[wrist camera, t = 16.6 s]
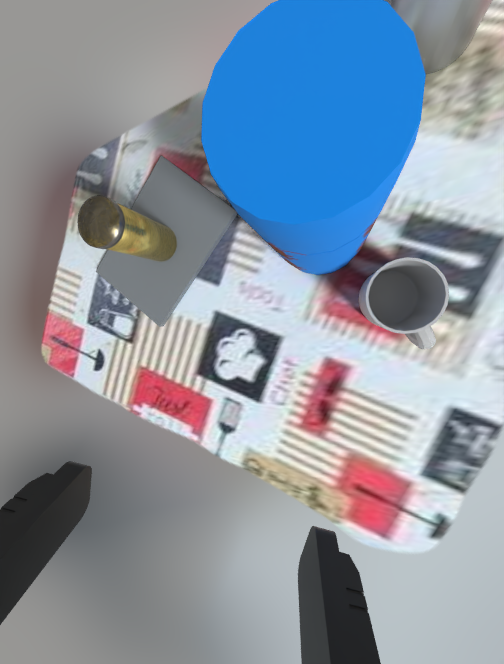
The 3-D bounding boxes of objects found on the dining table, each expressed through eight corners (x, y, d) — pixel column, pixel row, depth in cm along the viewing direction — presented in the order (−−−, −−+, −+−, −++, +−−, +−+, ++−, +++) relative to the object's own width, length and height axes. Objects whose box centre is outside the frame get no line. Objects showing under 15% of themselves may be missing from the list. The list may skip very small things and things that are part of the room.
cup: (401, 257, 36) (423, 242, 27) (444, 328, 35) (481, 335, 27) (346, 288, 38) (351, 284, 29) (387, 356, 37) (404, 371, 29)
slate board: (164, 158, 43) (161, 155, 42) (238, 213, 40) (235, 210, 39) (100, 272, 47) (95, 271, 46) (163, 326, 45) (159, 326, 44)
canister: (157, 217, 43) (92, 185, 31) (184, 238, 42) (128, 214, 30) (138, 248, 44) (69, 228, 32) (164, 269, 43) (103, 257, 32)
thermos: (264, 248, 40) (162, 164, 16) (308, 175, 38) (269, -55, 14) (332, 291, 38) (333, 269, 14) (383, 217, 36) (490, 38, 12)
